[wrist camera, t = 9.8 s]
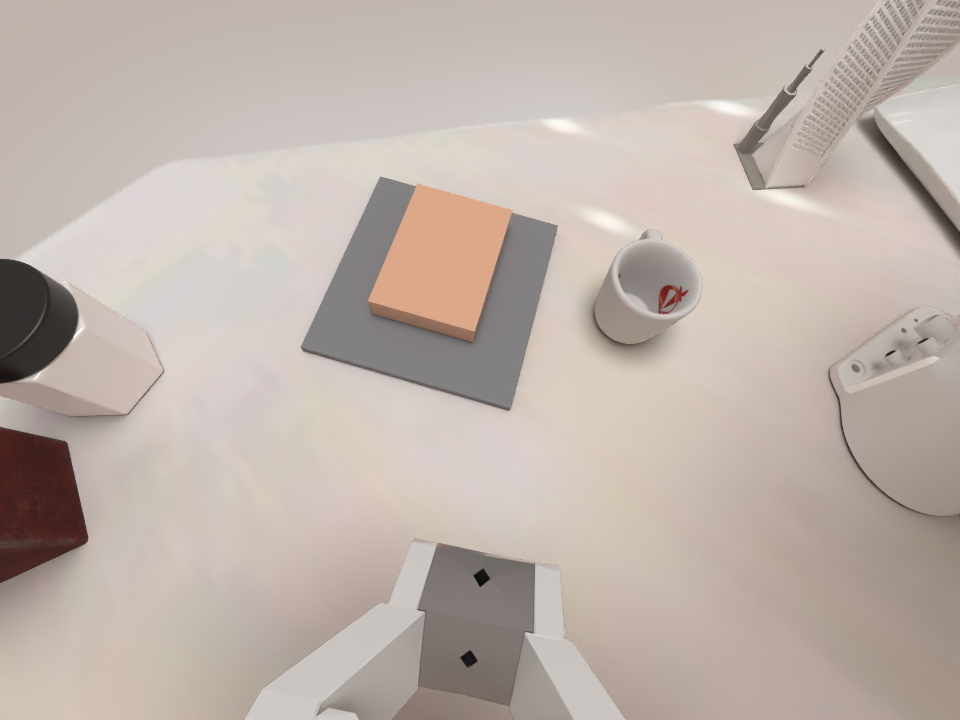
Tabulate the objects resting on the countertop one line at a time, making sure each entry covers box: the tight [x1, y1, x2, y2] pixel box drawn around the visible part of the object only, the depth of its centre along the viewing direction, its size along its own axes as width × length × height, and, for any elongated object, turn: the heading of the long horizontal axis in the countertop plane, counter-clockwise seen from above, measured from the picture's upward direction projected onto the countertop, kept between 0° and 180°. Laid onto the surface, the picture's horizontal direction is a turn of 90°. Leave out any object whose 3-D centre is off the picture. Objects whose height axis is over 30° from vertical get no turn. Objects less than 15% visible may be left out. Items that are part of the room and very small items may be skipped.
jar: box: [0, 259, 163, 416], centre depth 34 cm, size 9×8×12 cm
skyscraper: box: [734, 0, 960, 190], centre depth 41 cm, size 8×8×28 cm
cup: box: [595, 229, 702, 344], centre depth 42 cm, size 11×8×8 cm
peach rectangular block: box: [368, 184, 512, 342], centre depth 43 cm, size 10×3×14 cm
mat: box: [301, 177, 558, 410], centre depth 44 cm, size 20×21×1 cm
